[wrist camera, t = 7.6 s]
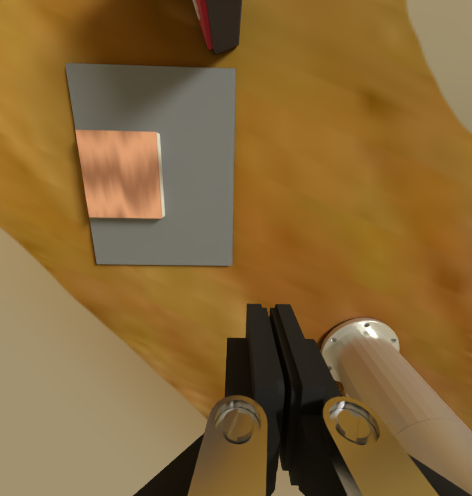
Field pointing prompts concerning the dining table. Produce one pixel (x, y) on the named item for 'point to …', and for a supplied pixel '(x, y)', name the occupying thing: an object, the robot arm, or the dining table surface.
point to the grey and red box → (219, 23)
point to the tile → (122, 173)
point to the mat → (167, 157)
